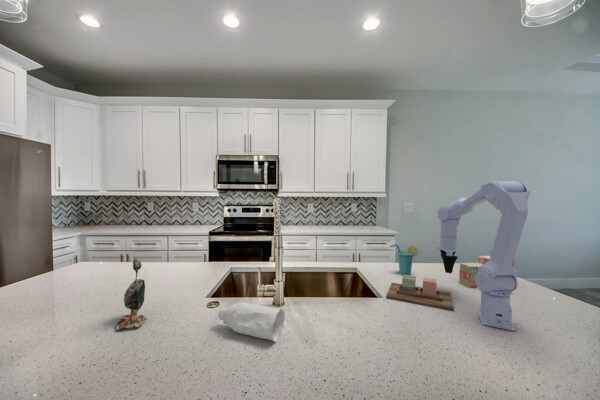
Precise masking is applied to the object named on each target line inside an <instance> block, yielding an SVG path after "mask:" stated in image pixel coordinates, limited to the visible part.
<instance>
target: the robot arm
mask: <svg viewBox="0 0 600 400" xmlns="http://www.w3.org/2000/svg"><path fill="white" fill-rule="evenodd" d="M530 192H531V190H530V189H529V188H528V187H527V186H526V184H525V183H524V182H522V181H520V180H514V181H513V180H511V181H510V180H509V181H508V180H507V181H506V180H505V181H504V180H503V181H502V180H501V181H499V180H489V181H487V182H485V183H483V184H481V186H480V188H479V189H478V190H477V191H475V192H474V193H472V194H470V195H469V196H468V197H467V198H466V197H458V198H456V201H453V202H452V203H451V202H450V203H449V204H448V206H446V205H445V206H443V205H442V206H440V207H439V208H438V210H437V218H438V219H439V220H440V242H439V243H440V244H439V245H437V246H436V249H439V252H440V256H441V259H442V262H443V263H442V264H443V267H444V268H443V269H444V272H445V274H452V273H453V270H454V266H455V263H456V262H457V259H458V258H459V257H458V255H455V254H456V252H457V251H458V226H459V224H460V220H461V219H462V217H463V216H465V215H467V214H469V213H471V212H472V211H473V210H474V207H475V206H477V205H479V204H482V203H484V202H486V201H487V202H488V203H489V204H491V206H493V207H494V208H495V209H496V210H498V211H499V212H500V213H501V217H500V219H499V224H498V227H497V231H496V235H495V239H494V241H493V242H494V243H493V246H492V249H491V253H490V255H489V256H490V260H489V261H488V262H486V263H485V264H483V265H482V266H481V267H480V270H479V272H478V273H477V274H476V276H475V282H476V285H477V286H478V288H477V289H478V290H479V291H480V310H477V311H476V312H477V314H478V317H479V320H480V322H481V324H482V325H484V326H489V327H494V328H499V329H504V330H509V331H512V332H516V331H517V330H516V328H515V327H514V325H513V322H512V319H513V318H512V316H513V315H512V314H513V308H512V307H511V295H513V292H514V291H516V290H517V288H518V285H519V284H518V274H519V272H518V271H517V269H515V267H514V268H513V267H512V263H513V260H514V261H515V257H516V253H517V250H518V247H519V243H520V241H521V237H522V233H523V231H524V227H525V225H526V221H527V217H528V215H529V214H528V213H529V206H528V200H529V197H530Z"/></svg>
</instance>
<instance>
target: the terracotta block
mask: <svg viewBox="0 0 600 400" xmlns="http://www.w3.org/2000/svg"><path fill="white" fill-rule="evenodd" d="M437 284H438V283H437V279H435V278H430V277H425V276H424V277H423V278H422V288H423V295H429V296H434V297H436V290H437Z"/></svg>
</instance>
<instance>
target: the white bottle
mask: <svg viewBox="0 0 600 400" xmlns="http://www.w3.org/2000/svg"><path fill="white" fill-rule="evenodd" d="M217 317H218V319H219V320H220V321H222V323H223V325H226V326H227V327H228V328H229V329H231V330H233V332H235V333H238V334H241V335H246V336H251V337H254V338H258V339H263V340H269V341H272V342H275V343H276V342H278V340H277V339H279V336H280V333H282V331H283V330H284V326H285V325H284V322H285V318H286V317H285V310H284V309H282V308H275V307H271V306H265V305H260V304H254V303H249V302H242V303H241V302H240V303H233V304H232V305H230V306H227V307H226V306H221V308H220V310H219V311H218V316H217Z"/></svg>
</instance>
